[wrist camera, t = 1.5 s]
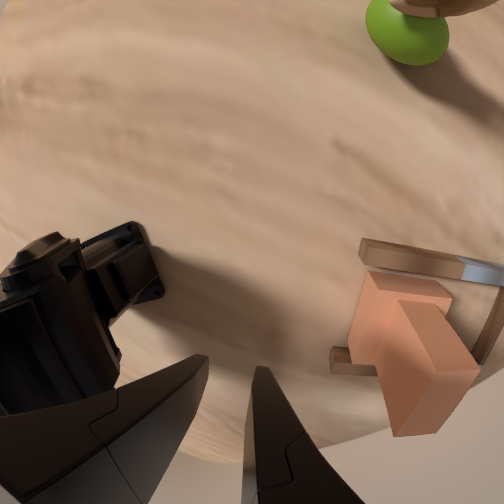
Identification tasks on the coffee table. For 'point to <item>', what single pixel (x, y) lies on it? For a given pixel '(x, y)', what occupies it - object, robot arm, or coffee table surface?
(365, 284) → the block
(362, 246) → the beam slot
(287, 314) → the coffee table surface
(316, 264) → the coffee table surface
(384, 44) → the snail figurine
